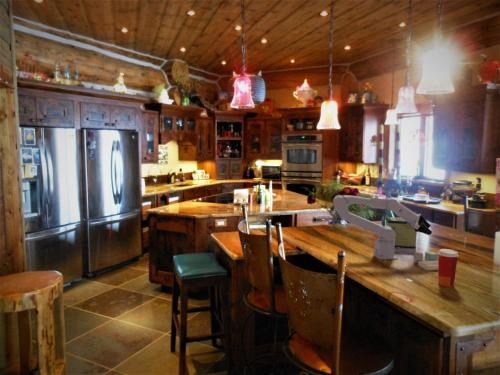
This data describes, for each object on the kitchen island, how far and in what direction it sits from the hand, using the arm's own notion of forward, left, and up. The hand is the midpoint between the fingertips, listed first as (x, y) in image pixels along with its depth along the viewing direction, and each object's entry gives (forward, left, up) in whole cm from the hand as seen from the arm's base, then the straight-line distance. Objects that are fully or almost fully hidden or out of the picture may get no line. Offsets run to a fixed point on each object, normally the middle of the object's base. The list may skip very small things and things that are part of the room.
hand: (430, 230), depth 190 cm
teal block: (-2, -5, -15) cm, 16 cm away
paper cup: (-14, -32, -15) cm, 38 cm away
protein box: (0, +27, -15) cm, 31 cm away
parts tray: (-5, -12, -15) cm, 20 cm away
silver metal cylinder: (-9, -5, -15) cm, 18 cm away
